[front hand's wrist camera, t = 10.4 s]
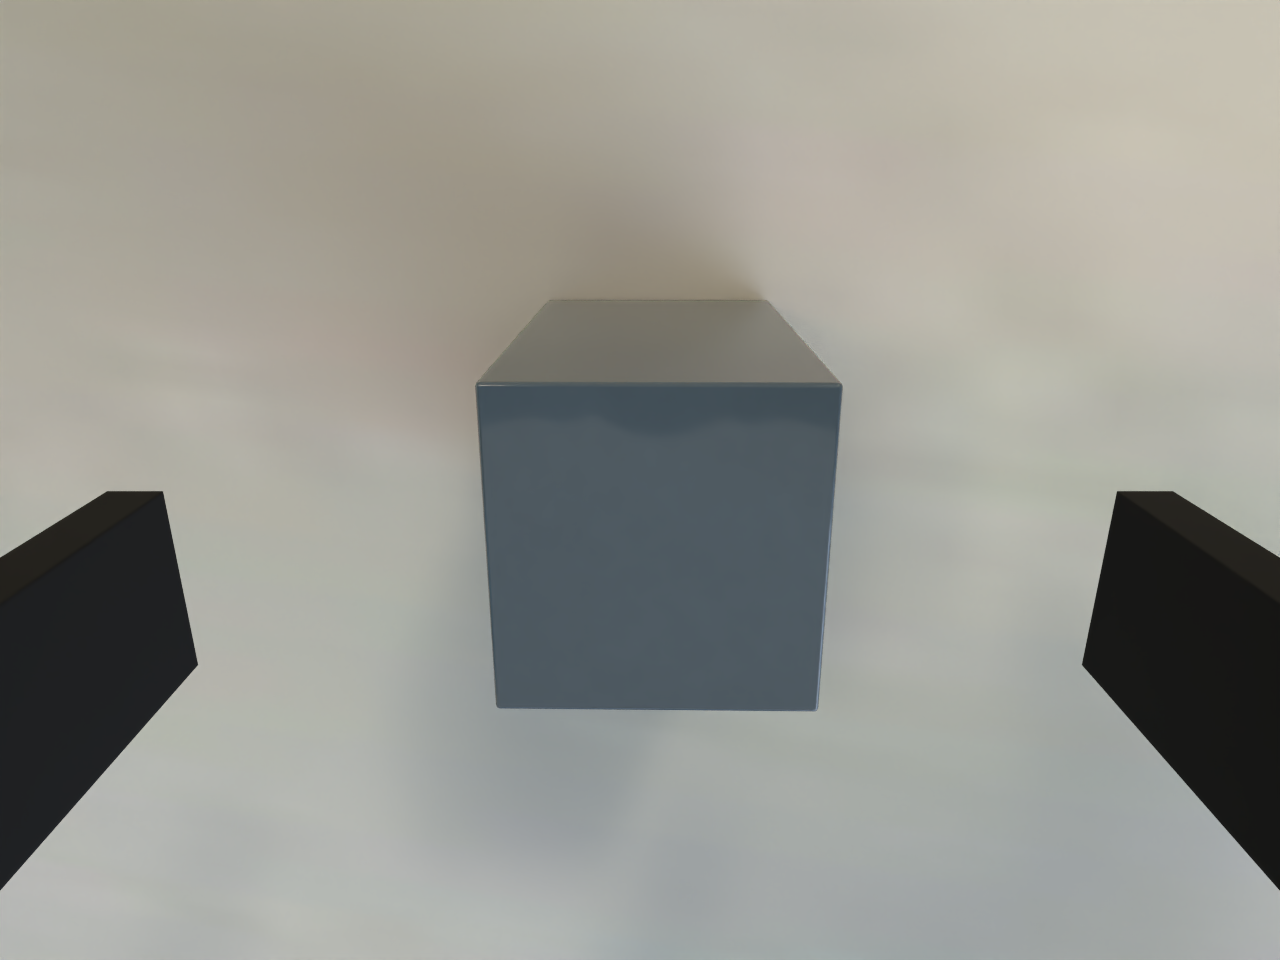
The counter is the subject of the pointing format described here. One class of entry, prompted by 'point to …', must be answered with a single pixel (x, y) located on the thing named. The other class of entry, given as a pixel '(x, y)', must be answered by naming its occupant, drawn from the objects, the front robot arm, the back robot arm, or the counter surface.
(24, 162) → the counter surface
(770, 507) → the brick
